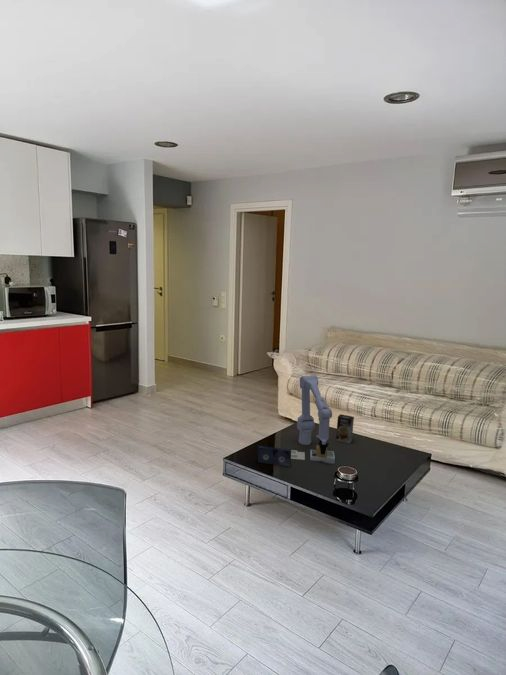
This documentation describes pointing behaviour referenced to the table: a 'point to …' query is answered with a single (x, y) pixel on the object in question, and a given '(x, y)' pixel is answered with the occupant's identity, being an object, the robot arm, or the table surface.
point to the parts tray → (328, 459)
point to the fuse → (318, 452)
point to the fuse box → (297, 455)
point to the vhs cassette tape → (274, 456)
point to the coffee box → (344, 428)
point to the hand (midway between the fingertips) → (322, 451)
